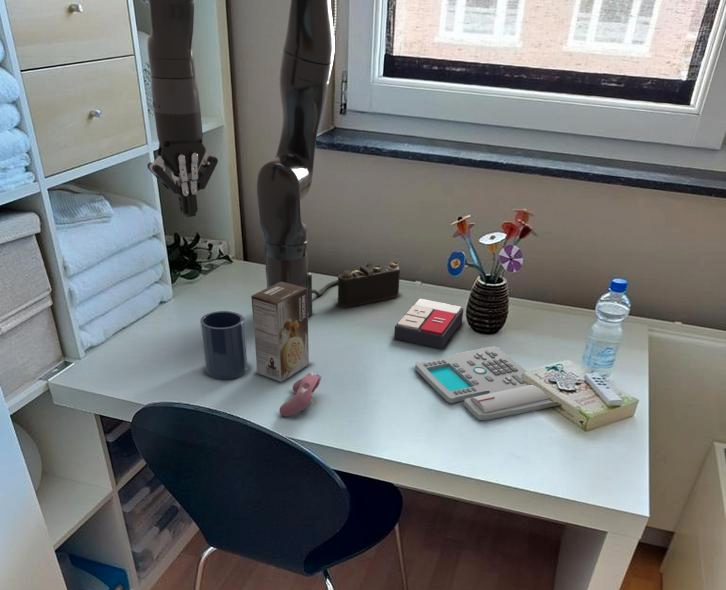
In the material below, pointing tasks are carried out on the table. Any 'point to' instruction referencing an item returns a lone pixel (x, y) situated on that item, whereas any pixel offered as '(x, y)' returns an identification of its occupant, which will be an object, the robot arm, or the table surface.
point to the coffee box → (281, 330)
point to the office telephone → (484, 383)
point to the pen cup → (224, 344)
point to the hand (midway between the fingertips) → (189, 215)
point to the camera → (368, 285)
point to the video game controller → (301, 395)
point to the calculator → (429, 323)
